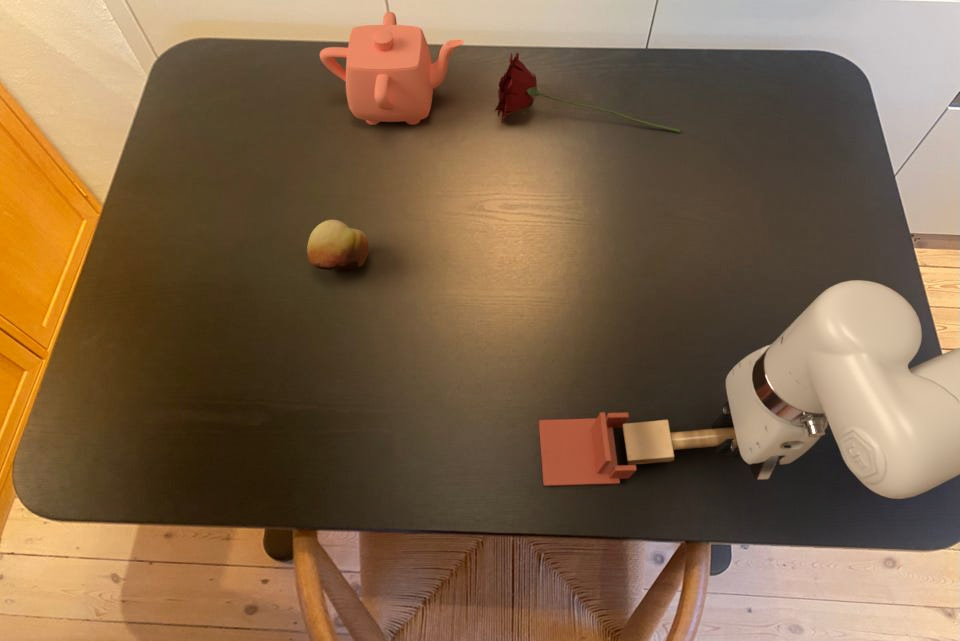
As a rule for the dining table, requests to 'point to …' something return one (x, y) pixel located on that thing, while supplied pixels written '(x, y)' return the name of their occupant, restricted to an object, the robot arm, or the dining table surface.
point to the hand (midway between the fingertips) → (726, 439)
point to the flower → (534, 93)
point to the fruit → (337, 246)
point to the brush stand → (582, 451)
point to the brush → (667, 440)
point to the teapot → (389, 71)
